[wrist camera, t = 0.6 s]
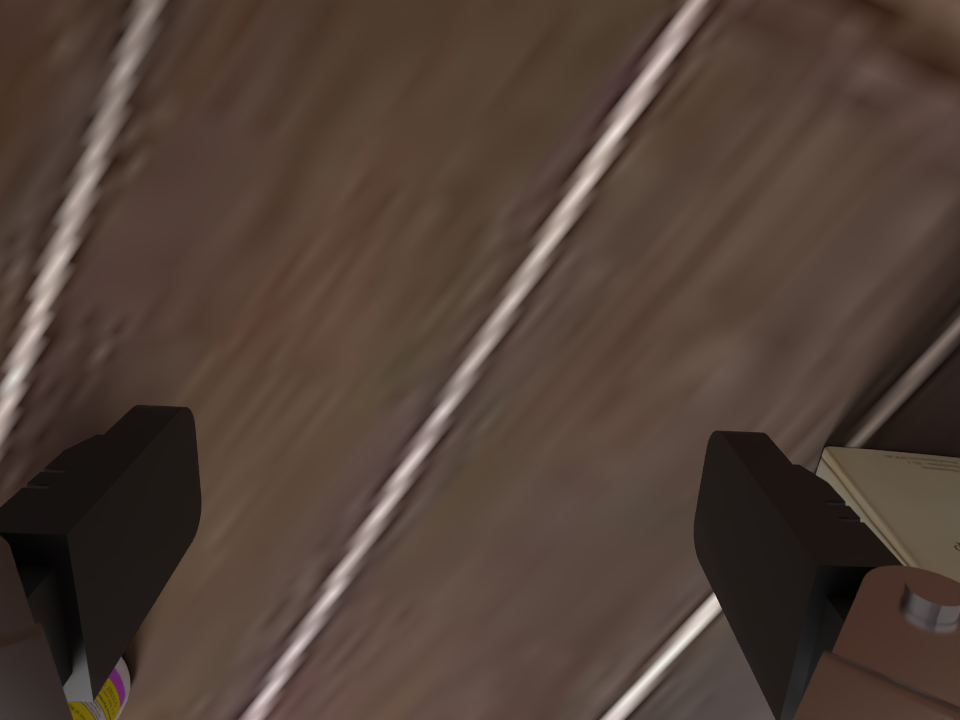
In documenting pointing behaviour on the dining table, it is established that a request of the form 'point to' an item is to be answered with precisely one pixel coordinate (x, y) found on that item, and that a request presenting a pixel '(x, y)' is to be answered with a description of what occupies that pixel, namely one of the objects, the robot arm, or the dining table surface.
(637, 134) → the dining table surface
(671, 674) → the dining table surface
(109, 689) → the supplement bottle
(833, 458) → the skincare box
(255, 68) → the dining table surface
